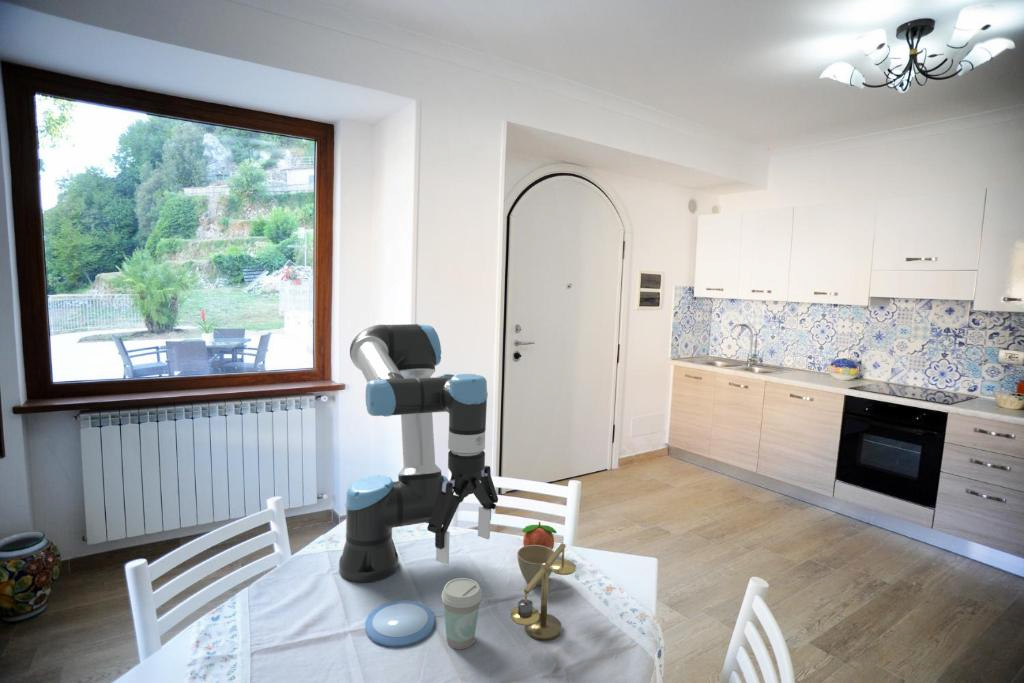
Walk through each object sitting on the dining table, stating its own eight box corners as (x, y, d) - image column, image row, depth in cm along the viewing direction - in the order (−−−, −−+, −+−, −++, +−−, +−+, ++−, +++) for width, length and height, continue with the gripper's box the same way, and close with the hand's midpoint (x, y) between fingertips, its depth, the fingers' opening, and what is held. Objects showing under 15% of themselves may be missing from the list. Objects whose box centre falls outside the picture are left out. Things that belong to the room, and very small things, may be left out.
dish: (350, 628, 122) (350, 622, 121) (401, 597, 134) (401, 592, 134) (399, 656, 113) (399, 651, 113) (448, 620, 125) (448, 615, 125)
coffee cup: (449, 658, 113) (450, 602, 112) (434, 633, 121) (435, 581, 119) (487, 646, 117) (488, 593, 116) (471, 623, 125) (472, 573, 123)
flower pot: (552, 593, 138) (553, 566, 137) (512, 587, 140) (513, 560, 139) (557, 573, 147) (558, 547, 147) (520, 567, 149) (521, 542, 149)
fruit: (523, 547, 161) (524, 514, 160) (556, 550, 159) (558, 517, 158) (519, 562, 152) (521, 527, 151) (554, 565, 151) (556, 530, 150)
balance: (500, 647, 117) (502, 570, 115) (551, 600, 135) (555, 533, 133) (532, 663, 113) (535, 584, 111) (581, 612, 130) (585, 543, 128)
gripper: (439, 470, 102) (437, 580, 104) (516, 440, 122) (512, 532, 125) (410, 461, 106) (408, 567, 108) (488, 434, 126) (485, 523, 129)
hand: (464, 549), depth 117 cm, fingers open, 13 cm apart
